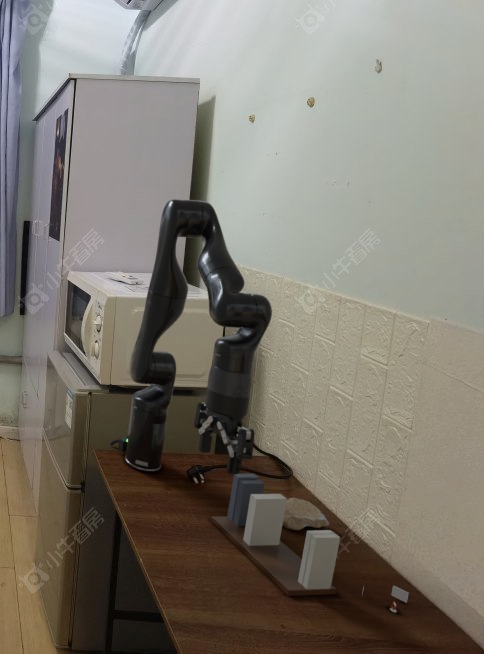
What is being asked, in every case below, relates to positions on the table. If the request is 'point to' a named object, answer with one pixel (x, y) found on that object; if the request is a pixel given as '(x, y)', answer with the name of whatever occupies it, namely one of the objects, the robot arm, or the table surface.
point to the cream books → (318, 559)
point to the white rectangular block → (264, 519)
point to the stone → (302, 515)
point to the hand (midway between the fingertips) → (217, 462)
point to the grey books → (243, 496)
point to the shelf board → (271, 560)
